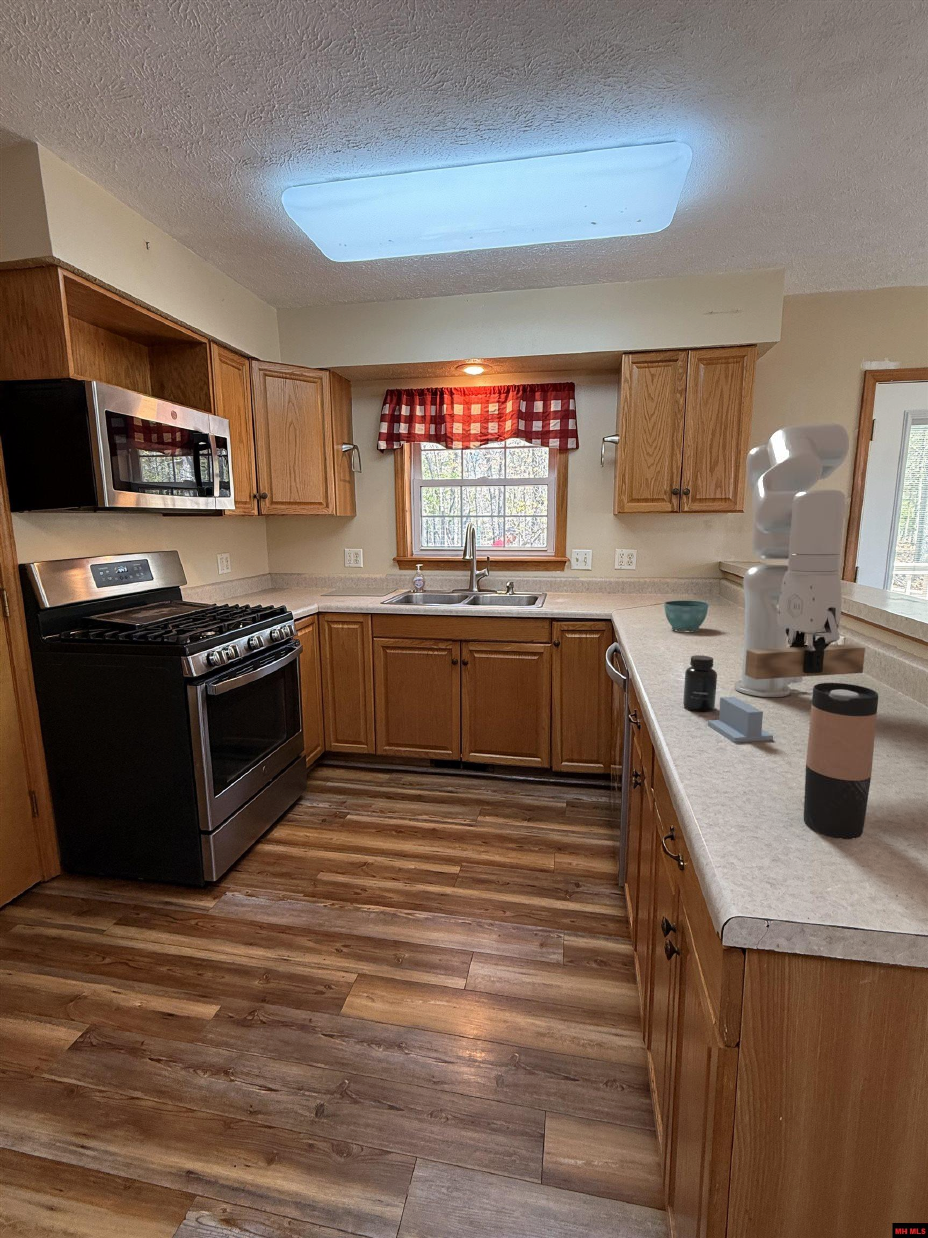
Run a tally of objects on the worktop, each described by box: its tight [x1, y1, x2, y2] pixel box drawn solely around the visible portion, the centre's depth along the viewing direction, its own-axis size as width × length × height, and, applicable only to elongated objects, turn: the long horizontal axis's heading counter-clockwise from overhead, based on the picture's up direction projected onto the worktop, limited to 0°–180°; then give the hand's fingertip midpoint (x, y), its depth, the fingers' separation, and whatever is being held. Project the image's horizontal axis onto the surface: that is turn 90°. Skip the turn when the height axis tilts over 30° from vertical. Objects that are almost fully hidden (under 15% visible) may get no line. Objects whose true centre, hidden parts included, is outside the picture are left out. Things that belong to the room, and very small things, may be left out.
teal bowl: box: [663, 599, 709, 633], centre depth 225 cm, size 16×16×11 cm
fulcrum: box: [707, 696, 774, 744], centre depth 118 cm, size 8×10×6 cm
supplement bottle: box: [682, 654, 718, 713], centre depth 133 cm, size 7×7×12 cm
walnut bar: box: [745, 643, 866, 679], centre depth 101 cm, size 20×3×4 cm, turn 97°
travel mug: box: [803, 682, 879, 840], centre depth 80 cm, size 8×8×20 cm
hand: (805, 668), depth 101 cm, fingers closed on walnut bar, 3 cm apart
